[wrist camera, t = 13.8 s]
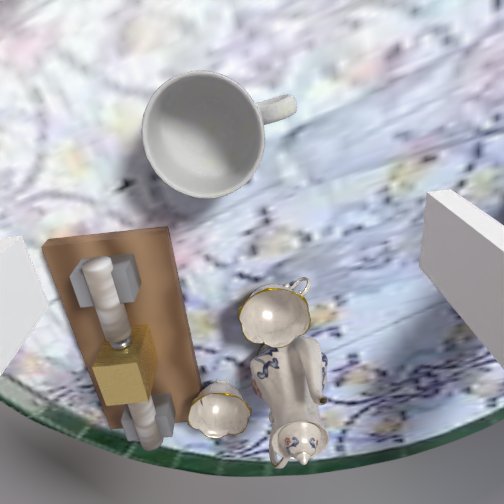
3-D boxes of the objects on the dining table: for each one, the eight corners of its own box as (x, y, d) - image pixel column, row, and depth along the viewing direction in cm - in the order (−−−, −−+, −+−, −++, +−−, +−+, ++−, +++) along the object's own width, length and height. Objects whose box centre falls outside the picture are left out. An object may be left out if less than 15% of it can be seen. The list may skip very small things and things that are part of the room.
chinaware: (245, 245, 51) (231, 323, 36) (368, 286, 52) (404, 378, 37) (188, 400, 63) (160, 508, 48) (290, 430, 64) (293, 544, 49)
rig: (167, 226, 47) (157, 254, 41) (206, 408, 61) (203, 450, 55) (48, 239, 47) (20, 268, 41) (114, 418, 61) (100, 460, 55)
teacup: (170, 181, 45) (158, 207, 38) (144, 75, 40) (124, 82, 33) (295, 162, 44) (307, 184, 37) (284, 52, 39) (295, 54, 32)
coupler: (147, 318, 51) (135, 357, 44) (159, 364, 54) (150, 406, 48) (107, 322, 51) (89, 361, 44) (122, 368, 54) (108, 410, 48)
